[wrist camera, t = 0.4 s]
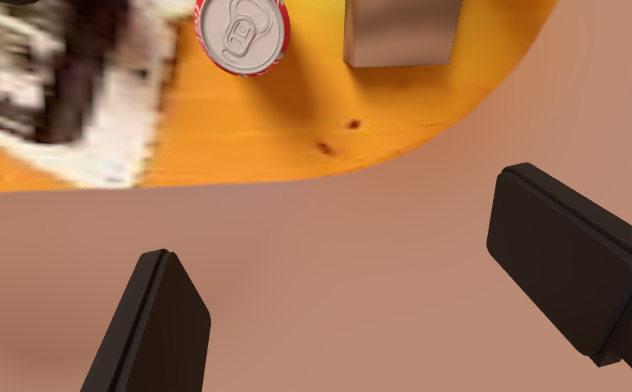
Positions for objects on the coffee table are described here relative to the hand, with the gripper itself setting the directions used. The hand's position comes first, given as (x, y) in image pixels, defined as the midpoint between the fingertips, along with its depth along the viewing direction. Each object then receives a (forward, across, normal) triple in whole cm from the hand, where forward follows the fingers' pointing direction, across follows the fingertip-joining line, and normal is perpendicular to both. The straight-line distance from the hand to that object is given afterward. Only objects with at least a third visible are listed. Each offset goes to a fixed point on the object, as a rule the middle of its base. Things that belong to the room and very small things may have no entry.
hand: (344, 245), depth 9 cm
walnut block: (+30, -13, -3) cm, 33 cm away
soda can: (+30, +2, -5) cm, 31 cm away
